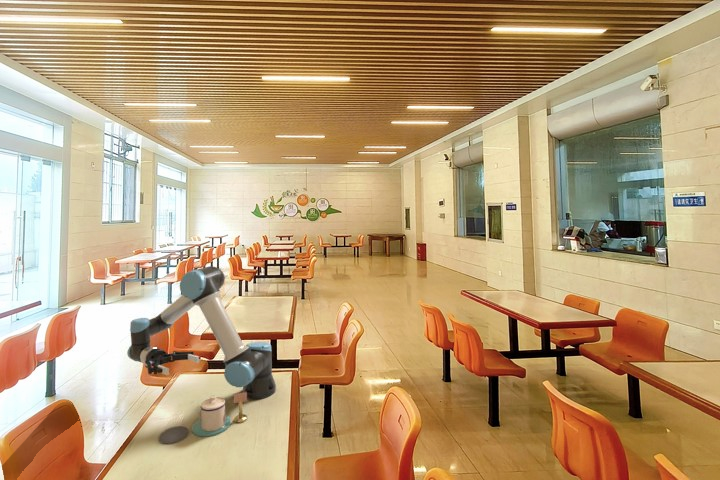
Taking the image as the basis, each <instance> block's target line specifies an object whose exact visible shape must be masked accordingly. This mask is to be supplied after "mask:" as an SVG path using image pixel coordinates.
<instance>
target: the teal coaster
mask: <svg viewBox="0 0 720 480" xmlns="http://www.w3.org/2000/svg"><path fill="white" fill-rule="evenodd" d="M230 425H231V418H230V417H229V416H227V415H225V425H224V426H223V427H222V428H220V429H218V430H215V431H205V430H203V429H202V419H201V418H200V419H198V420H197V421H196V422H194V423H193V425H192V427H191V432H192V434H193V435H194V436H196V437H199V438H200V437H201V438H207V437H209V438H210V437H213V436H217V435H220V434H222V433H224V432H225V431H226V430H227V429H229V428H230Z"/></svg>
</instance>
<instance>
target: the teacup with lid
mask: <svg viewBox="0 0 720 480" xmlns="http://www.w3.org/2000/svg"><path fill="white" fill-rule="evenodd" d="M200 413H201V414H200V415H201V416H200V419H202V429H203V430H205V431H215V430H218V429H220V428H222V427H223V426H224V425H225V416H226V400H225V399H224V398H223V397H219V396H217V397H216V395H211V396H210V398H207V399H204V401H202V402H201V404H200Z"/></svg>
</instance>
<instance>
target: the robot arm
mask: <svg viewBox="0 0 720 480" xmlns="http://www.w3.org/2000/svg"><path fill="white" fill-rule="evenodd" d="M224 284H225V274H224V272H223V270H221V268H218V267H217V266H211V265H210V266H207V267H202V268H196V269H193V270H190V271H188V272H186V273H185V274H184V275H182V277H181V278H180V281H179V290H180V293H181V296H179V297H178V298H177V299H176V300H175V301H173V303H171V304H170V305H168V307H166V308H165V309H164V310H163V311H161V312H160V313H159V314H158V315H157V316H155V317H153V318H150V319H149V318H148V317H139V318H135V319H132V320H131V321H130V325H129V326H130V329H129V331H130V342H131V345H130V346H129V348H128V349H127V353H126V354H127V357H128V358H129V359H131V360H132V361H134V362H139V363H142V364H144V365H145V368H146V370H147V373H148V375H151V374H152V373H153V375H158V374H162V375H165V376H169V375H170V367H166V366H163V365H165V364H168V363H174V362H175V361H187V360H188V362H192V363H195V364H199V363H200V356H199V355H196V354H195V353H194V352H195V351H177V350H174V351H172V353H168V352H166V351H165V350H164V349H162V348H157V347H155V346H152V345H151V337H152V336H154V335H157V334H159V333H161V332H164V331H167V330H168V329H170V328H172V327H173V326H174V324H175V322H177V320H179V319H180V318H181V317H182V316H184V315H185V314H186V313H188V311H190V310H191V309H193V308H194V307H195V306H197V307H199V308H200V311H201V312H202V314H203V316H204V318H205V320H206V321H207V324H208V326H209V328H210V330H211V331H212V334H213V335H214V337H215V339H216V341H217V344H218V345H219V347H220V350H221V351H222V353H223V355H224V358H223V363H224V365H225V368H224V372H223V376H224V380H225V381H226V382H227V383H228V384H229V385H230V386H232V387H235V388H242V392H247V399H251V400H258V399H259V400H260V399H265V398H267V397H270V396H272V395H273V394H274V393H275V392H276V390H277V385H276V382H275V378H274V376H273V372H272V371H273V368H272V367H273V365H272V364H273V361H272V357H273V355H272V354H273V353H272V345H271V344H270V343H269V342H265V341H253V342H249V343H247V344H246V345H244V343H243V340H242V339H241V337H240V335H239V333H238V331H237V329H236V328H235V326H234V323H233V322H232V320H231V318H230V316H229V314H228V312H227V310H226V309H225V306H224V304H223V303H222V300H221V299H220V294H221V290H220V289H221V288H222V287H223V285H224ZM194 354H195V355H194Z"/></svg>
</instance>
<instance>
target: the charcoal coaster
mask: <svg viewBox="0 0 720 480" xmlns="http://www.w3.org/2000/svg"><path fill="white" fill-rule="evenodd" d="M189 434H190V430H189V428H188V427H187V426H185V425H184V426H183V425H179V426H177V425H176V426H172V427H169V428H167V429H165V430H164V431H163V432H161V433H160V434H159V436H158V441H159V442H160V443H161V444H163V445H173V444H176V443H179V442H182V441H183V440H185V439H186V438H187V437H189Z"/></svg>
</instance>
